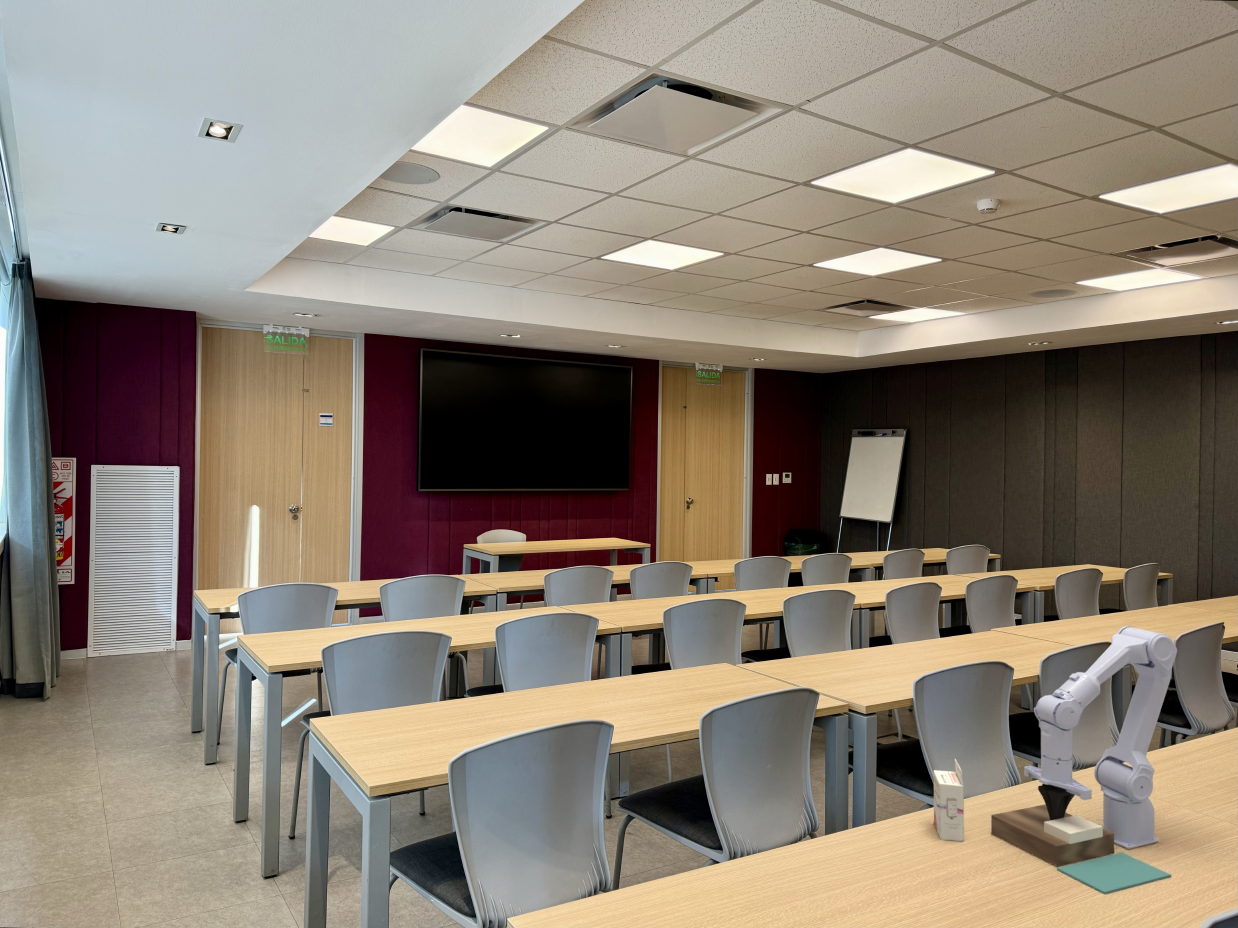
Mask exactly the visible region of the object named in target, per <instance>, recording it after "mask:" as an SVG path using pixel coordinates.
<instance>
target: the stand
mask: <svg viewBox="0 0 1238 928" xmlns="http://www.w3.org/2000/svg"><path fill="white" fill-rule="evenodd" d="M1070 816H1074V815H1073V814H1070V813H1068V812H1067V811H1066V812H1065V816H1064V818H1065V817H1070ZM990 818H991V820H990V823H991V826H990V827H991V831H990V834H991V835H993V836H994V837H996V838H999V839H1001V840H1003V841H1005V842H1007V843H1008V844H1010V845H1013V846H1015V847H1016V848H1019V849H1020V850H1023V851H1024V852H1026V853H1028V854H1030V855H1032V856H1034V857H1036V858H1038V859H1040V860H1041V861H1043V862H1046V863H1048V864H1050V865H1052V866H1054V867H1056V868H1059V867H1063V866H1067V865H1071V864H1075V863H1080V862H1084V861H1088V860H1092V859H1096V858H1101V857H1105V856H1109V855H1113V854H1115V843H1114V833H1112V832H1110V831H1107V830H1105V829H1103V837H1099V838H1095V839H1091V840H1086V841H1082V842H1077V843H1073V844H1069V843H1067V842H1065V841H1063V840H1060V839H1058V838H1056V837H1054V836H1052V835H1050V834H1048V833H1046V832H1044V822H1046V821H1050V817H1049V814H1048V810H1047V807H1046V804H1040V805H1035V806H1031V807H1025V808H1020V809H1014V810H1011V811H1005V812H1004V811H1003V812H1000V813H994V814H991V817H990Z"/></svg>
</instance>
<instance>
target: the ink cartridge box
mask: <svg viewBox="0 0 1238 928" xmlns="http://www.w3.org/2000/svg"><path fill="white" fill-rule="evenodd" d="M954 766H955V767H954V769H955V771H949V770H935V769H934V770H933V824H934V827H935V829H936V831H937V834H938V836H939V839H940V840H941V841H942V840H943V841H945V840H946V841H956V842H964V841H965V828H964V827H965V826H964V825H965V823H964V822H965V820H964V819H965V818H964V815H965V813H964V811H965V809H964V807H965V805H964V804H965V803H964V802H965V801H964V792H965V791H964V790H965V789H964V777H963V770H962V769H961V766H960V764H959V763H958V760H957V759H956V758H954Z"/></svg>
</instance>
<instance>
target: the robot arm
mask: <svg viewBox="0 0 1238 928" xmlns="http://www.w3.org/2000/svg"><path fill="white" fill-rule="evenodd" d="M1177 654H1178V649H1177V646H1176V645H1175V643H1174V640H1173V639H1172V638H1171V637H1170V636H1169V635H1168V634H1167V633H1162V632H1155V631H1151V630H1146V629H1142V628H1137V627H1135V626H1130V625H1126V626H1123V627H1121V628H1119V629H1118V630H1117V632H1116V633H1115V634H1113V635H1112V636H1111V644H1110V645H1109V646H1108V648H1107V649H1106V650H1104V652H1103V653H1102V654H1101V655H1100V656H1099V657H1098V658H1097V659H1096V660H1095V661H1094V663H1093V664H1092V665H1091V666H1089V668H1087V670H1086V671H1085V672H1081V671H1077V672H1075V673H1073V672H1072V673H1071V674H1070V675H1069V677H1068V678H1069V679H1067V680H1066V681H1065V682H1063V684H1062V685H1060V687H1059V688H1057V689H1056V690H1054V692H1053V693H1052V694H1047V695H1043V696H1042V697H1040V699H1038V701H1037V703H1036V705H1035V707H1033V712H1034V715H1035V717H1036V719H1037V720H1038V727H1039V728H1040V767H1036V766H1034V765H1033V766H1032V765H1026V766H1024V767H1023V775H1024V777H1028V778H1032V779H1035V780H1037V781H1039V783H1041V785H1039V786H1038V787H1037V790H1038V792H1039V794H1040V796H1041V797H1042V799H1043V801H1044V803H1045V804H1046V807H1047V810H1048V814H1049V817H1050V821H1051V820H1056V819H1060V818H1064V816H1065V812H1066V813H1067V809H1068V806H1069V805H1070V803H1071V801H1072V800H1073V798H1074V797H1075V796H1077V797H1079V798H1080V799H1081V800H1083V801H1088V800H1091V799H1093V798H1092V792H1093V791H1092V788H1089V787H1087V786H1085V785H1084V784H1082V783H1081V782H1080V781H1077V780H1075V779H1074V778H1073V728H1074V727H1076V726H1077V725H1078V724H1079V722H1080V718H1081V715H1082V714H1083V711H1084V709H1085V708H1086V707H1087V706H1089V704H1091V702H1092V701H1094V700H1095V698H1097V697H1098V696H1099V695H1100V694H1101V684H1103V683H1105V682H1106V681H1107V680H1108V679H1110V678H1111V677H1112V676H1113V675H1115V674H1116V673H1118V671H1120V670H1121V669H1123V668H1124V667H1125V666H1127V665H1129V664H1130V665H1132V667H1134V669H1135V671H1136V673H1137V674H1138V678H1137V680H1136V684H1135V686H1134V690H1133V693H1132V696H1131V700H1130V702H1129V706H1128V708H1127V711H1126V715H1125V717H1124V720H1123V724H1122V727H1121V730H1120V733H1119V736H1118V739H1117V742H1116V744H1115V745H1113V746H1110V747H1109V748H1106V749H1104V752H1103V754H1102V756H1101V758H1100V760H1099V761H1097V763H1096V765H1095V767H1094V779H1095V781H1096V782H1097V783H1098V785H1100V791H1101V792H1102V793H1103V794H1102V795H1103V796H1102V798H1103V801H1102V802H1103V803H1102V804H1103V805H1102V807H1103V811H1102V812H1103V813H1102V814H1103V816H1102V817H1103V819H1102V821H1103V823H1102V825H1103V826H1102V827H1103V829H1105V830H1107V831H1110V832H1112V833H1114V844H1116V845H1118V846H1120V847H1122V848H1124V849H1133V848H1137V847H1142V846H1146V845H1150V844H1155V843H1158V842H1159V839H1158V838H1156V837H1155V808H1154V805H1153V803H1152V801H1151V799H1150V797H1151V795H1152V793H1153V790H1154V780H1153V778H1154V777H1153V776H1154V773H1155V768H1154V767H1153V765H1152V764H1151V762H1150V761H1149V759H1148V757H1147V754H1148V750H1149V748H1150V744H1151V741H1152V738H1153V734H1154V731H1155V729H1156V725H1157V723H1158V719H1159V717H1160V713H1161V709H1162V706H1163V703H1164V701H1165V697H1166V694H1167V691H1168V688H1169V685H1170V682H1171V678H1172V668H1173V666H1174V663H1175V660H1176V657H1177ZM1126 763H1127V764H1126ZM1128 764H1129V765H1128ZM1045 804H1044V805H1045Z"/></svg>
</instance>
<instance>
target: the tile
mask: <svg viewBox="0 0 1238 928" xmlns="http://www.w3.org/2000/svg"><path fill="white" fill-rule="evenodd" d="M1044 832H1046V833H1048V834H1050V835H1052V836H1054V837H1056V838H1058V839H1060V840H1063V841H1065V842H1067V843H1069V844H1073V843H1077V842H1082V841H1086V840H1091V839H1095V838H1099V837H1103V826H1102V825H1100V824H1098V823H1096V822H1095V823H1094V822H1093V821H1091V820H1088V819H1085V818H1084V817H1081V816H1079V815H1077V814H1075V815H1073V816H1070V817H1065V818H1060V819H1056V820H1051V821H1046V822H1044Z"/></svg>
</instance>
